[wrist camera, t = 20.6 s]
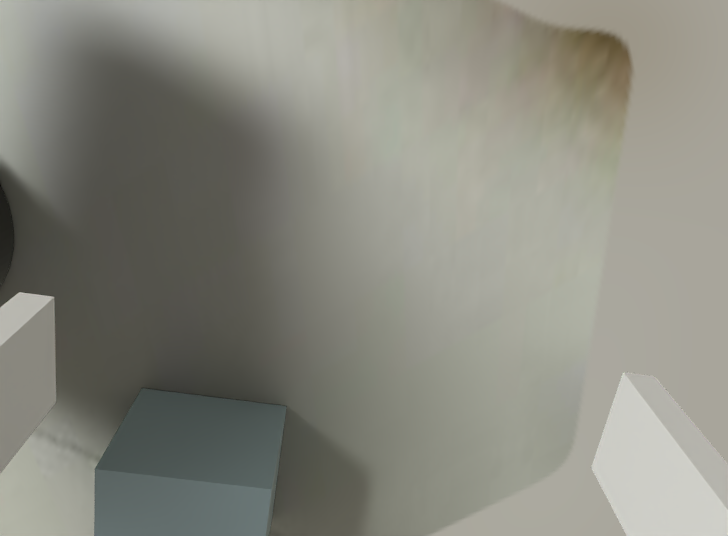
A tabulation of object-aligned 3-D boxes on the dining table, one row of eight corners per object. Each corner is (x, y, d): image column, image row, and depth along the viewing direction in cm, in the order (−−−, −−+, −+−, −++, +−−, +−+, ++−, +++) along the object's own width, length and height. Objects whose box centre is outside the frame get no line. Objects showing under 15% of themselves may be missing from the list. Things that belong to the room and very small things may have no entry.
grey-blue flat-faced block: (137, 503, 49) (93, 600, 41) (141, 388, 46) (94, 469, 37) (272, 519, 50) (255, 617, 42) (286, 406, 46) (271, 489, 38)
